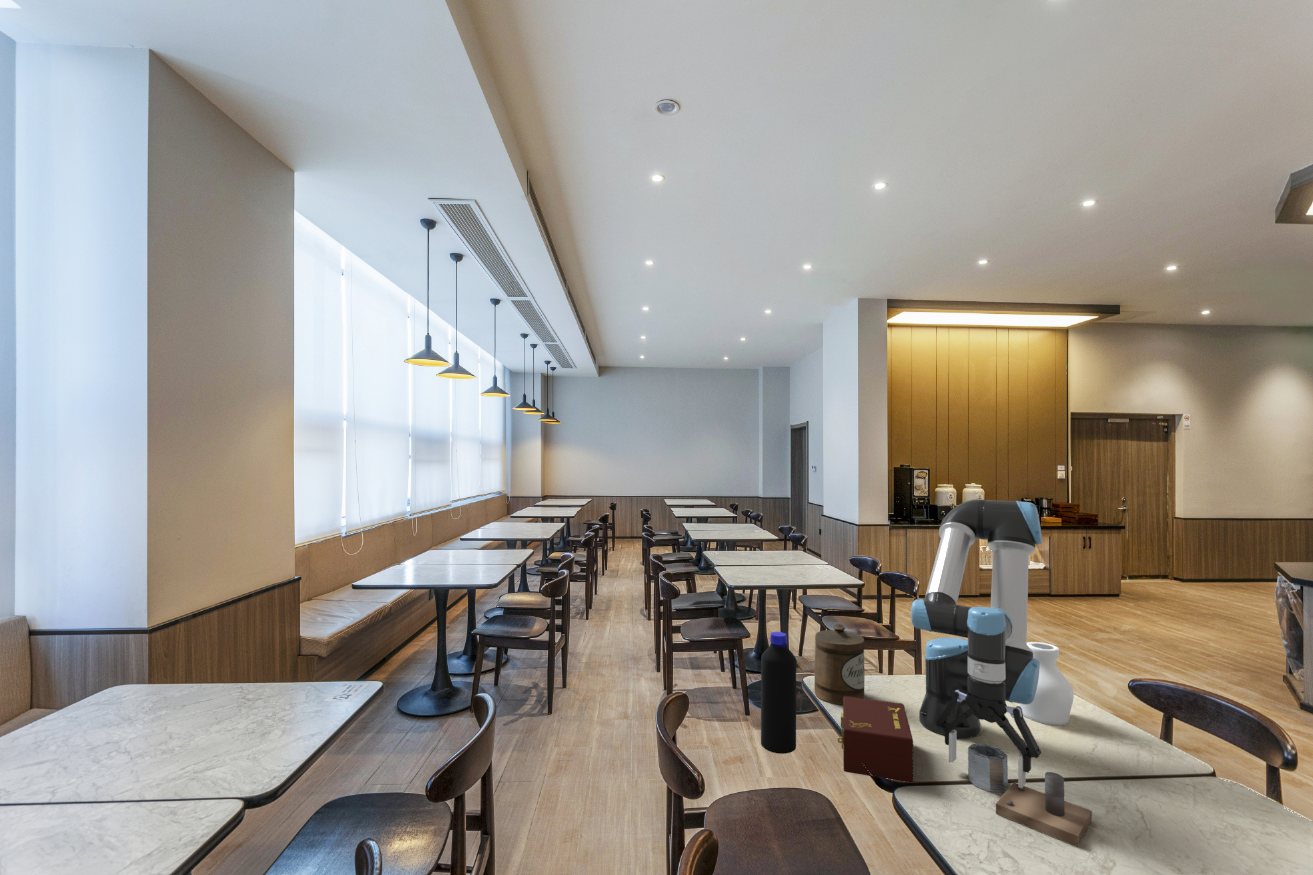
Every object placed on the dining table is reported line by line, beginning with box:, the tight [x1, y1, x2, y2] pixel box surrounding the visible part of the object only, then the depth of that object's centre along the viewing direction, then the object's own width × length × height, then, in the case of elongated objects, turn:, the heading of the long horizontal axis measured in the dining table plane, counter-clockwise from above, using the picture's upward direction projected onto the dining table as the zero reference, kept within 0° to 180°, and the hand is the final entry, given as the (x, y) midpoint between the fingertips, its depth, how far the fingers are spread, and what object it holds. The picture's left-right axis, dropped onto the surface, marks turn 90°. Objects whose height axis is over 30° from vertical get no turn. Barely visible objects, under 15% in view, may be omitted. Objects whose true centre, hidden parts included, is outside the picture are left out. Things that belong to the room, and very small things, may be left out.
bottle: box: [760, 631, 797, 755], centre depth 147 cm, size 9×9×28 cm
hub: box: [967, 743, 1009, 793], centre depth 131 cm, size 7×7×7 cm
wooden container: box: [814, 623, 866, 706], centre depth 180 cm, size 15×15×22 cm
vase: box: [1017, 641, 1075, 726], centre depth 166 cm, size 14×14×20 cm
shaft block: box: [995, 771, 1093, 848], centre depth 118 cm, size 14×12×9 cm
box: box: [837, 696, 914, 784], centre depth 143 cm, size 21×16×10 cm
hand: (986, 773), depth 130 cm, fingers open, 13 cm apart
